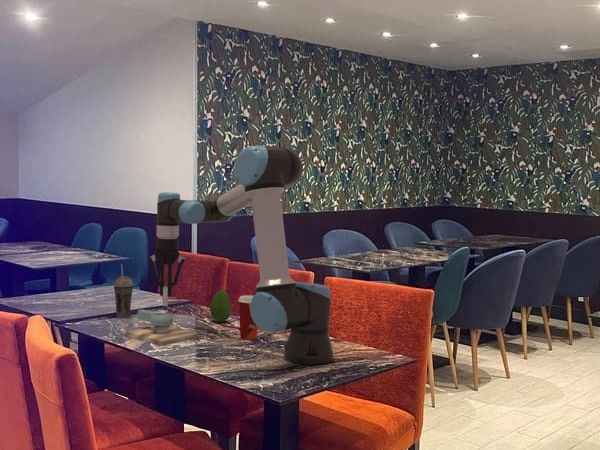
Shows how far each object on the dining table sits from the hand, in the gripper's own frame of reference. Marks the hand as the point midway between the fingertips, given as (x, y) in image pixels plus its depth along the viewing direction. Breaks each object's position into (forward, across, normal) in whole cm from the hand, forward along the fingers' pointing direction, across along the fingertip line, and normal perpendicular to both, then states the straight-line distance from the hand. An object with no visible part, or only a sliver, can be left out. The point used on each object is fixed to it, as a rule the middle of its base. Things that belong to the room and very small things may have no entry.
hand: (165, 305), depth 239 cm
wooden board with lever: (+9, 0, +8) cm, 12 cm away
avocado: (+9, -18, -18) cm, 27 cm away
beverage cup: (+10, +19, -21) cm, 29 cm away
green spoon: (+5, +3, +6) cm, 8 cm away
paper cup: (+9, -29, +6) cm, 31 cm away
